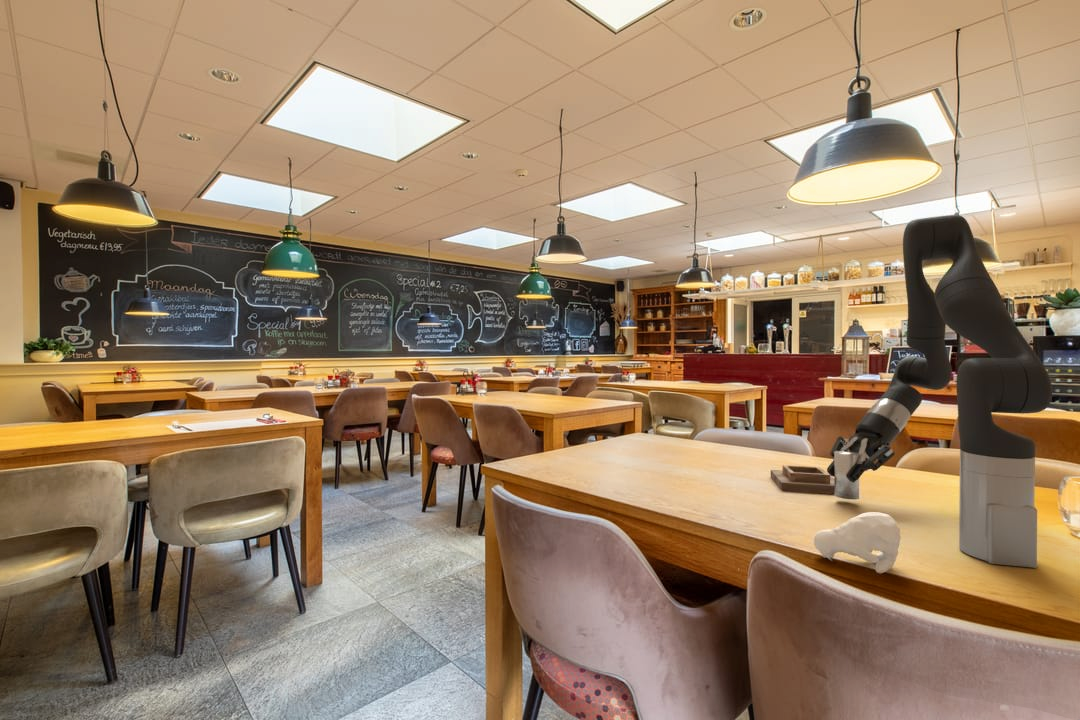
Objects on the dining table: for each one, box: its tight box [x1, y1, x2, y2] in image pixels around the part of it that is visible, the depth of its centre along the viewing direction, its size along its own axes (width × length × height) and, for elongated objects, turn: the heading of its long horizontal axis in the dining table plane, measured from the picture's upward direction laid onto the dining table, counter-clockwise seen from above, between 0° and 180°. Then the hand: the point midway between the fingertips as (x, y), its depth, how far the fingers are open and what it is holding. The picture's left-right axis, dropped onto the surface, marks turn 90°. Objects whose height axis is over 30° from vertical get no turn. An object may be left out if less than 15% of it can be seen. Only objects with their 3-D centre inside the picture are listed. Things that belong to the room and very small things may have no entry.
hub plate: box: [770, 464, 834, 494], centre depth 126 cm, size 14×14×4 cm
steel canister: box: [833, 450, 860, 500], centre depth 111 cm, size 5×5×10 cm
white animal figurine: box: [813, 511, 902, 574], centre depth 79 cm, size 6×8×12 cm
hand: (839, 476), depth 111 cm, fingers closed on steel canister, 4 cm apart
